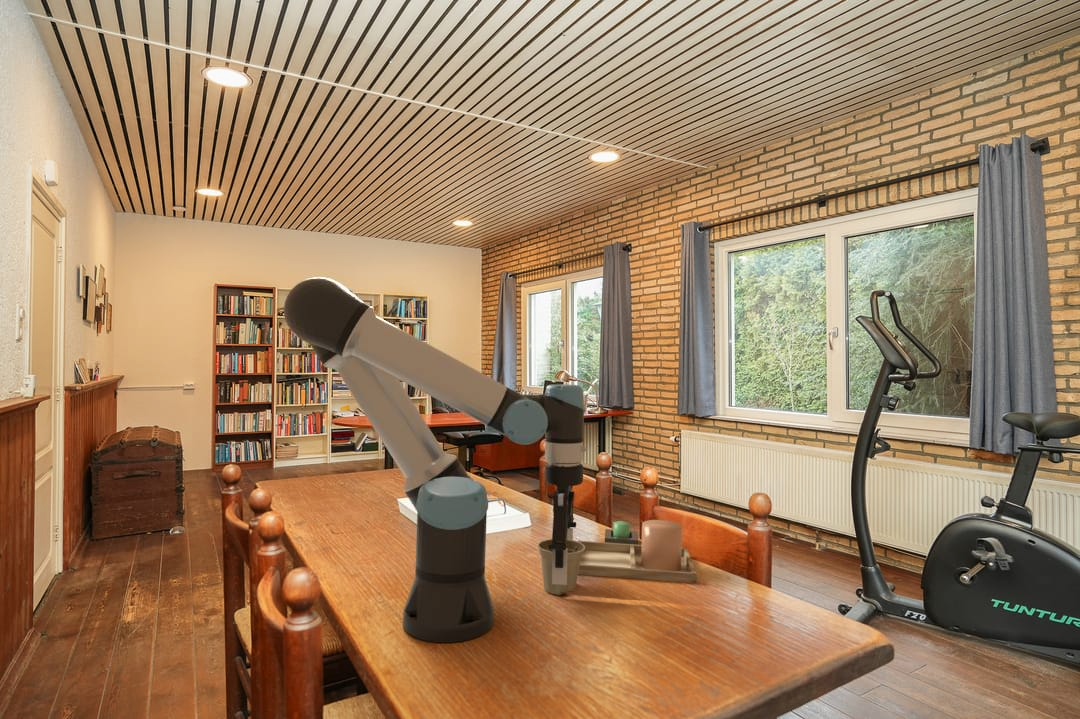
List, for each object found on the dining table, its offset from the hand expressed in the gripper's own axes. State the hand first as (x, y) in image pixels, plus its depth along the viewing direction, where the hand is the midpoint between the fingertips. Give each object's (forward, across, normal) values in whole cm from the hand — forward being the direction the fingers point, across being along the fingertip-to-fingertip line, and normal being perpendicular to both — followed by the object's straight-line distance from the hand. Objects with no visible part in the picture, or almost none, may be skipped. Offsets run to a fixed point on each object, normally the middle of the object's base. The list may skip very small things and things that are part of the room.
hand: (562, 571), depth 118 cm
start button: (+3, +31, -12) cm, 33 cm away
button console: (+4, +31, -12) cm, 33 cm away
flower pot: (+4, 0, 0) cm, 4 cm away
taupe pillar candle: (+3, +16, -20) cm, 26 cm away
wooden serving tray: (+4, +16, -14) cm, 21 cm away
